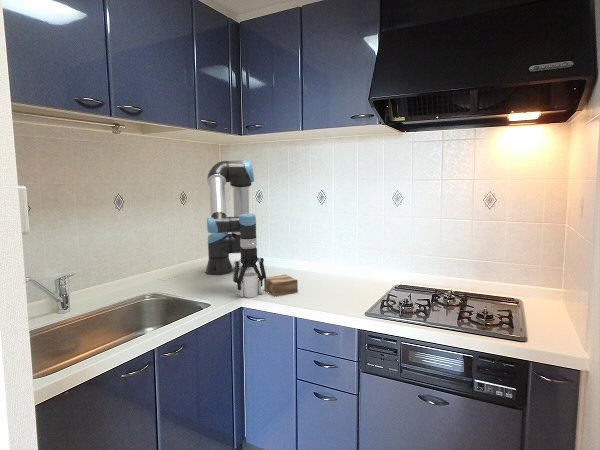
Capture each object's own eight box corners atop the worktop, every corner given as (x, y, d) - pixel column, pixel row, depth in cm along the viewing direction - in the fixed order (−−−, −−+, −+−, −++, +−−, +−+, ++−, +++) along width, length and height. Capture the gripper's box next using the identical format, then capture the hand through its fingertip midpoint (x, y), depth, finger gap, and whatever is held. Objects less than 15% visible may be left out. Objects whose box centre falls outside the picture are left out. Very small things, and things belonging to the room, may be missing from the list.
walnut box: (264, 290, 189) (264, 277, 188) (286, 286, 195) (286, 274, 194) (274, 296, 179) (274, 283, 178) (297, 292, 184) (297, 279, 184)
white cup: (250, 291, 187) (250, 271, 186) (262, 294, 182) (261, 274, 180) (238, 295, 181) (237, 275, 180) (249, 299, 176) (248, 277, 175)
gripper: (229, 251, 170) (231, 300, 173) (272, 246, 180) (274, 293, 183) (224, 248, 177) (226, 296, 179) (266, 243, 187) (267, 289, 189)
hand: (250, 294), depth 181 cm, fingers open, 8 cm apart
